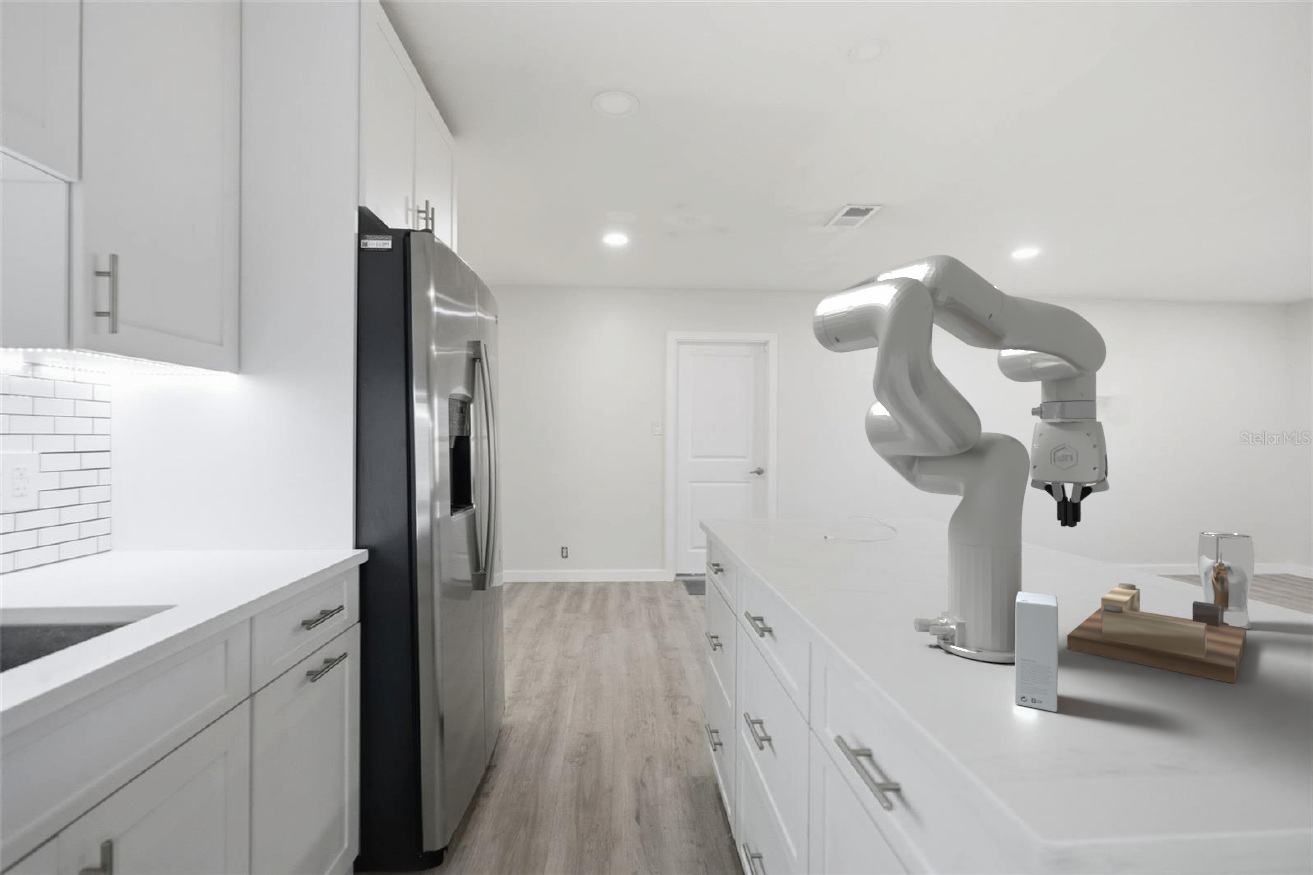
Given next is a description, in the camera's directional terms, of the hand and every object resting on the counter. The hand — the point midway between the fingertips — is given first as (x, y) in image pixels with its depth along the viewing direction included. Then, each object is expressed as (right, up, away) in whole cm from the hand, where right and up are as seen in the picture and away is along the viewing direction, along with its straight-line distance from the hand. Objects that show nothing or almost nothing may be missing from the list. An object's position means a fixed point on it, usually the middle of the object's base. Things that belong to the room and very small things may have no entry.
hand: (1068, 525), depth 101 cm
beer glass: (+28, -17, +2) cm, 33 cm away
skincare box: (-23, -17, -28) cm, 40 cm away
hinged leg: (+7, -14, -3) cm, 16 cm away
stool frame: (+8, -17, -8) cm, 20 cm away
